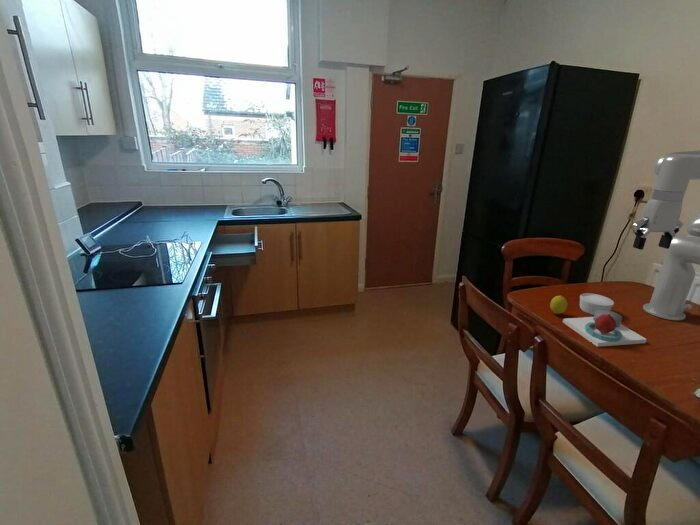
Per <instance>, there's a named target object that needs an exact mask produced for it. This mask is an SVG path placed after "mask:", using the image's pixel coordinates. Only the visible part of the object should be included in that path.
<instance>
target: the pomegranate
mask: <svg viewBox="0 0 700 525" xmlns="http://www.w3.org/2000/svg"><path fill="white" fill-rule="evenodd" d="M595 326H596V328H597V329H598V330H599V331H600V332H601V333H602V334H606V333H609V332H612V331H614V330H615V328H616V321H615V320H614V318H613V317H612V316H610V313H607V314H603V315H601V316H599V317H598V318H596V320H595Z"/></svg>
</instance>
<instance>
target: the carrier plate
mask: <svg viewBox="0 0 700 525" xmlns="http://www.w3.org/2000/svg"><path fill="white" fill-rule="evenodd" d="M607 313H610V316H612V317H613V318H614V320H615V321H616V328H615V330H614V331H612V332H609V333H606V334H602V333H601V332H600V331H599V330H598V329H597V328H596V326H595V320H596V318H598V317H599V316H601V315H603V314H607ZM622 320H623V316H622V315H621V314H619V313H617V312H615V311H612V310H610V311H609V310H603V309H599V310H596V311H595V314H594V315H593V316H584V317H571V318H570V317H567V318H566V317H565V318H563V319H562V323H563V324H564V325H566V326H568V328H570V329H571V330H573V331H575V332H576V333H577V334H579V335H580V336H581V337H583V338H584V339H585V340H587V341H588V342H590V343H591V342H592V343H591V344H593V345H594V346H596V347H599V348H600V347H612V346H623V345H624V346H625V345H637V344H638V345H639V344H646V343H647V341H648V339H647V338H645V337H644V336H642V335H641V334H639V333H637V332H636V331H633V330H631V329H630V328H628V327H627V326H625V325H623V324H622Z"/></svg>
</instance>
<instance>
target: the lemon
mask: <svg viewBox="0 0 700 525" xmlns="http://www.w3.org/2000/svg"><path fill="white" fill-rule="evenodd" d="M549 308H550V310H551V311H552V312H553V313H554V314H555V315H559V314H563V313H564V312H566V310H567V308H568V301H567V298H565V297H564V296H562V295H556V296H554V297H553V298H552V299H551V301H550V304H549Z"/></svg>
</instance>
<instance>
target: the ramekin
mask: <svg viewBox="0 0 700 525" xmlns="http://www.w3.org/2000/svg"><path fill="white" fill-rule="evenodd" d="M614 306H615V302H614V300H612V299H611V298H609V297H606V296H605V295H601V294H596V293H589V292H588V293H587V292H586V293H582V294H580V295H579V307H580V309H581V310H582V312H584V313H587V314H589V315H592V316H594V314H595V311H596V310H599V309H603V310H609V311H612V308H613V307H614Z"/></svg>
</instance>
